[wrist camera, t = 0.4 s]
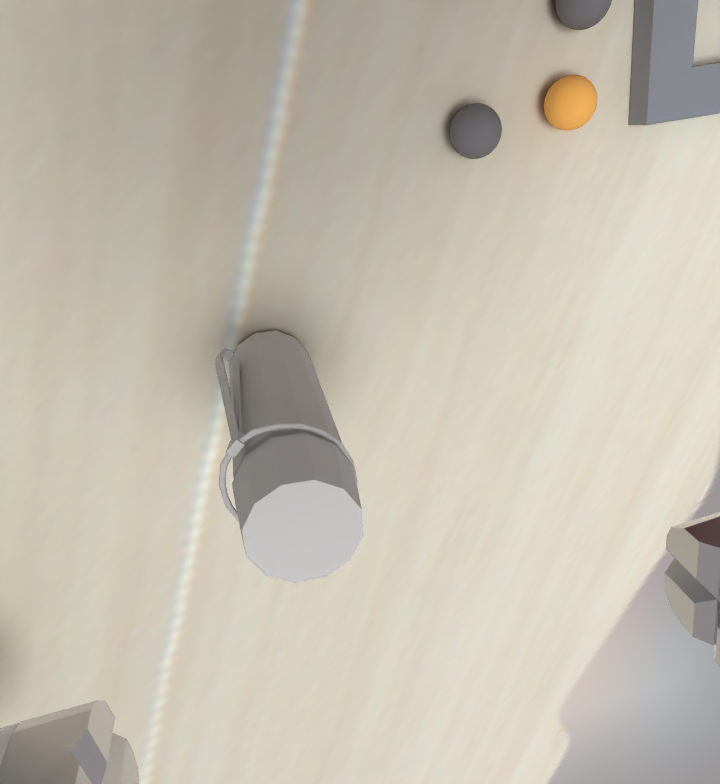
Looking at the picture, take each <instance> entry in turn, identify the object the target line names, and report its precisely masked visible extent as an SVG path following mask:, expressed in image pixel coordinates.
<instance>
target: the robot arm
mask: <svg viewBox="0 0 720 784" xmlns="http://www.w3.org/2000/svg"><path fill="white" fill-rule="evenodd" d="M666 550H667V551H668V552H669V553H670V554H671V555H672V556H673V557H674V558H675V559H674V560H673V562H672V563H671V564H670V566H669V568H668V569H667V570H666V572H665V591H666V594H667V597H668V600H669V603H670V605H671V608H672V610H673V612H674V613H675V615H676V616H677V618H678V620H679V621H680V623H681V624H682V625H683V626H684V627H685V628H686V630H687V631H688V632H689V633H690V634H691V635H692V636H693V637H695V638H698V639H700V640H702V641H705V642H707V643H710V644H712V645H714V654H715V662H716V663H717V664H718V665H719V666H720V512H718V513H715V514H712V515H708V516H705V517H702V518H699V519H696V520H692V521H689V522H686V523H683V524H680V525H676V526H673V527H671V529H670V531H669V532H668V534H667V540H666ZM114 720H115V716H114V714H113V713H112V711H111V710H110V708H109V706H108V705H107V703H106V701H94V702H91V703H87V704H83V705H80V706H76V707H72V708H69V709H65V710H61V711H58V712H54V713H51V714H47V715H43V716H40V717H36V718H32V719H29V720H25V721H21V723H17V724H13V725H10V726H6V727H2V728H0V784H139V776H138V767H137V763H136V759H135V756H134V752H133V750H132V748H131V746H130V744H129V742H128V740H127V739H126V738H123V737H121V736H119V735H116V734H114V733H112V732H113V726H114Z"/></svg>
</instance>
